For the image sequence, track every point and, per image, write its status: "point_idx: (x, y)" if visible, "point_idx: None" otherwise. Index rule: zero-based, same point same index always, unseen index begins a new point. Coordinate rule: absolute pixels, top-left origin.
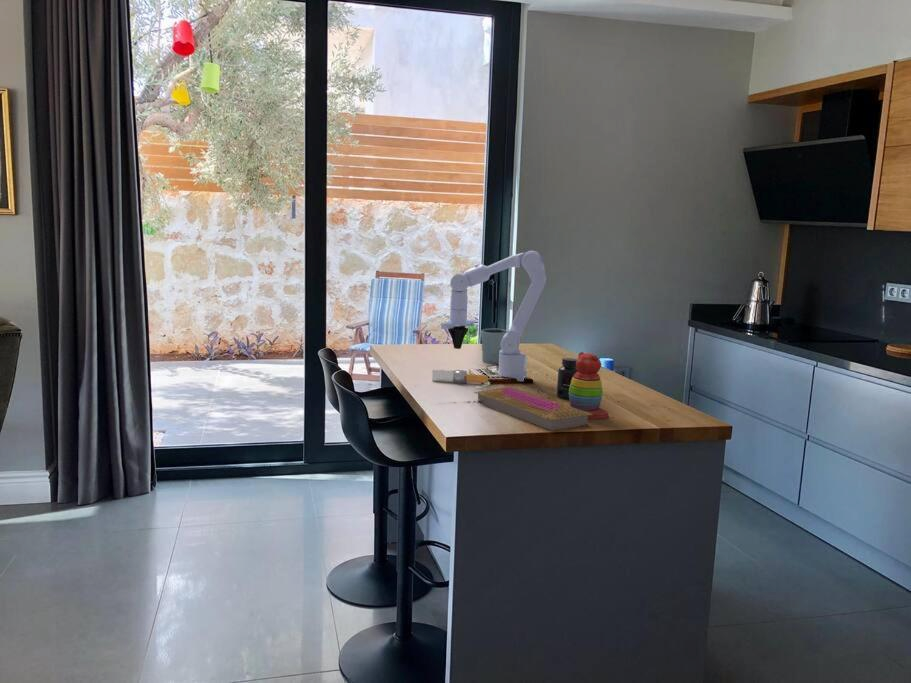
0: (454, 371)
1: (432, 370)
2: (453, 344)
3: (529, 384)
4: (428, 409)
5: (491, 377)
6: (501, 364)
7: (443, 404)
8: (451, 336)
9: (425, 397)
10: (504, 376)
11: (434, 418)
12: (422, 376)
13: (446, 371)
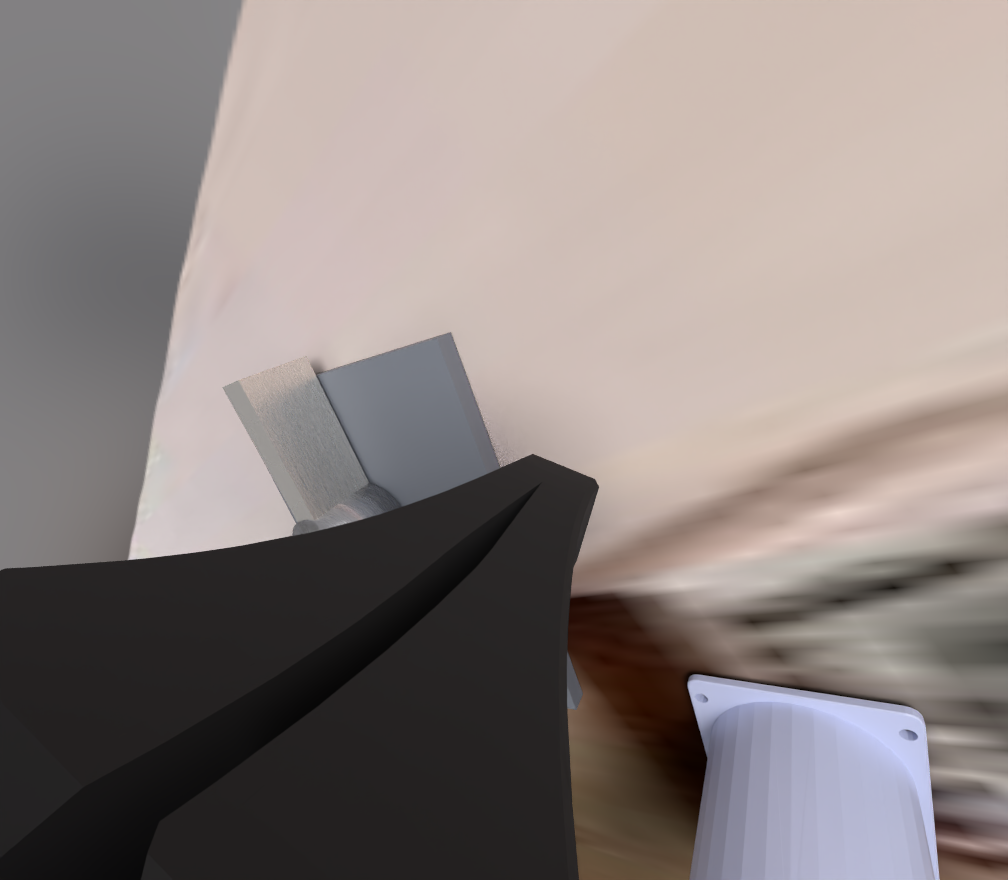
0: (301, 528)
1: (226, 386)
2: (487, 477)
3: (685, 828)
4: (143, 507)
5: (765, 642)
6: (709, 823)
7: (193, 529)
8: (316, 543)
9: (182, 445)
10: (709, 746)
11: (131, 544)
12: (412, 118)
13: (278, 478)
